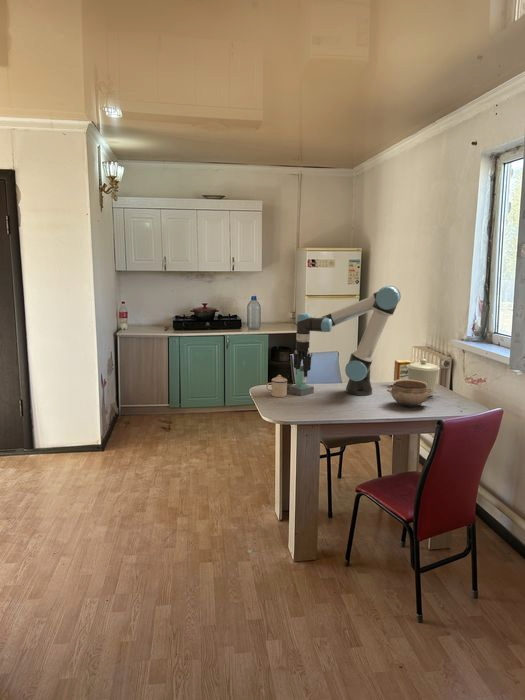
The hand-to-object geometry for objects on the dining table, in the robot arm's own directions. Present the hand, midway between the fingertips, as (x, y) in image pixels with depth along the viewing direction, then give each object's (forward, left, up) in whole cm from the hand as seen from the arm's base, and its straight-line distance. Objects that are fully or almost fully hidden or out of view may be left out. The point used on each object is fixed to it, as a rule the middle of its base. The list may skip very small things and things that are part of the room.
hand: (301, 381), depth 296 cm
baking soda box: (-25, -62, -7) cm, 67 cm away
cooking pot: (-53, -28, -7) cm, 61 cm away
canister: (-44, -53, -7) cm, 69 cm away
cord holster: (+9, 0, -7) cm, 12 cm away
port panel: (0, 0, -7) cm, 7 cm away
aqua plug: (0, 0, -5) cm, 5 cm away
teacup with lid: (+4, +15, -7) cm, 17 cm away
